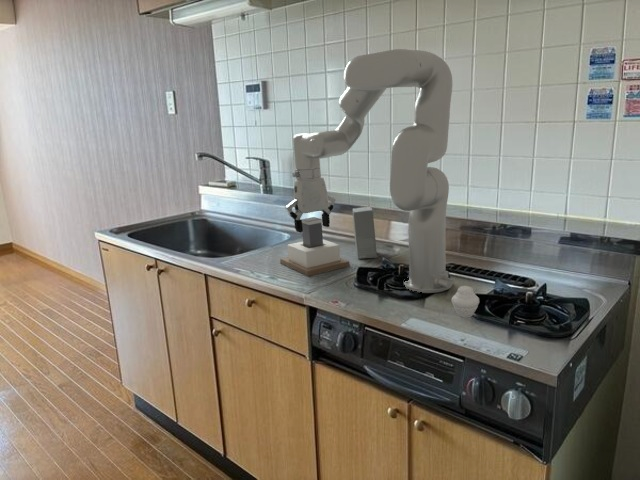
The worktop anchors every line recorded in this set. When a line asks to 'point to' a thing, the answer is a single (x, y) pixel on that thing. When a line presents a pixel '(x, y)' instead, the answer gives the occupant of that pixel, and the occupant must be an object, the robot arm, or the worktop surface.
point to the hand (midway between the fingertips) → (312, 229)
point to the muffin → (465, 301)
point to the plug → (312, 232)
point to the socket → (314, 258)
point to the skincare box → (364, 232)
